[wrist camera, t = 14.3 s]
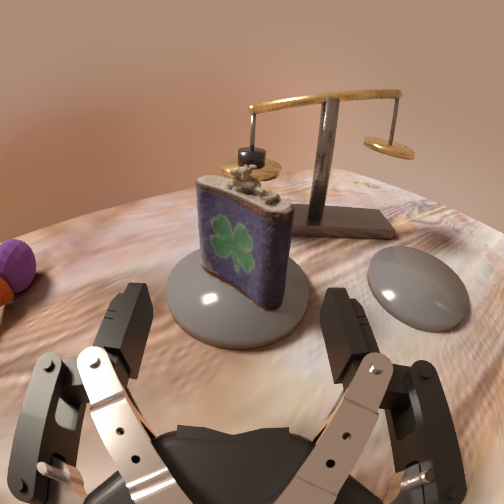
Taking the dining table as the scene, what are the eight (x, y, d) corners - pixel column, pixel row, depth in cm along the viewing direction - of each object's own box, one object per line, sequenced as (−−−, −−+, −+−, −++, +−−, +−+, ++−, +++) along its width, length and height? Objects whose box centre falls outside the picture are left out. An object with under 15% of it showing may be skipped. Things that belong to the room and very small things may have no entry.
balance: (381, 217, 40) (406, 93, 29) (400, 241, 34) (435, 100, 23) (223, 210, 39) (225, 66, 27) (220, 236, 33) (220, 62, 22)
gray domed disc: (432, 254, 32) (435, 247, 32) (480, 323, 22) (485, 316, 21) (352, 253, 32) (354, 244, 31) (393, 340, 21) (398, 331, 20)
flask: (195, 266, 26) (188, 157, 20) (217, 254, 28) (216, 150, 22) (270, 317, 22) (286, 190, 15) (291, 299, 24) (312, 179, 17)
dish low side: (295, 252, 31) (297, 243, 31) (319, 347, 21) (322, 338, 20) (180, 250, 31) (179, 241, 30) (155, 345, 20) (151, 335, 19)
